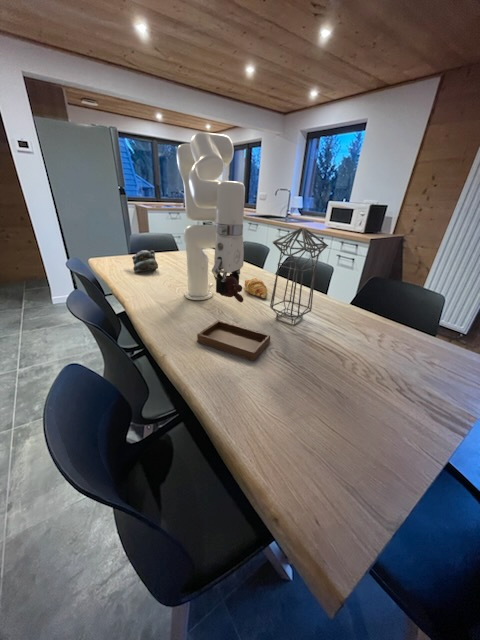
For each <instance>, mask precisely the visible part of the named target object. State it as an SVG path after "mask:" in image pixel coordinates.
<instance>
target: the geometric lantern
mask: <svg viewBox="0 0 480 640" xmlns="http://www.w3.org/2000/svg"><path fill="white" fill-rule="evenodd" d="M300 234H302V235H301V236H302V240H300V239H298V238H299V237H300ZM312 237H313V238H314V239H316V240H317V241H318V242H320V243H316V242H315V241H314V240H313V238H312ZM285 238H286V239H285ZM281 240H283V241H281ZM292 241H293V242H292ZM291 243H292V244H291ZM296 243H297V244H298V245H299V246H300V247H294V244H296ZM301 243H302V244H303V245H302V244H301ZM272 245H274V246H275V247H276V248H277V250H278V251H280V254H279V259H278V263H277V268H276V274H275V280H274V285H273V289H272V294H271V300H270V304H269V308H270V309H271V310H272V311H273V312H274V313H275V314H276V317H275V319H276V320H277V321H279V322H282V323H285V324H288V325H290V326H295V325H297V324H298V323H300V322H301V321H302V320H303V318H304V315H307V314H308V313H311V312H312V309H313V308H312V307H313V297H314V287H315V277H316V269H317V266H318V261H319V257H320V254H321V253H322V252H324V250H326V248H327V247H329V244H327V243H326V242H324V241H323V240H322V239H320V237H318V236H316V235H315V234H313V232H311V231H310V230H309V229H307V228H306V227H299V228H298V229H295V230H294V231H291V232H289V233H288V234H285V235H284V236H281V237H279V238H277V239H275V240H273V241H272ZM288 249H289V252H288ZM292 250H298V251H295V252H292ZM316 251H318V252H317V253H316ZM301 252H302V253H301ZM306 252H307V253H309V254H310V257H309V258H308V259H307V261H306V262H301V261H299V260H301V258H302V257H303V256H304V254H305V253H306ZM299 253H301V254H300V256H299V257H298V258H297V260H295V258H294V256H295V255H297V254H299ZM284 256H286V257H288V258H289V260H288V261H284V262H281V261H282V259H283V257H284ZM313 259H316V260H315V264H314V260H313ZM310 260H311V262H312V264H311V263H308V262H309V261H310ZM288 263H290V264H289V266H285V265H284V264H288ZM297 263H298V264H302V265H303V266H302V267H301V269H300V268H299V267H298V264H297ZM293 264H294V268H293V267H292V265H293ZM306 265H307V266H310V267H311V268H307V269H304V268H305V266H306ZM280 267H282V268H285V269H289V270H288V275H287V279H286V285H285V289H284V295H283V300H281V301H278V302H276V303H275V298H276V297H275V296H276V291H277V290H276V289H277V284H278V279H279V278H278V277H279V271H280ZM303 269H304V270H303ZM291 270H293V275H292V283H291V289H290V295H289V300H286V295H287V290H288V285H289V281H290V275H291ZM311 270H312V276H311V283H310V290H309V297H308V302H307V305H304V304H301V300H302V290H303V289H302V288H303V280H304V272H307V271H311ZM299 272H301V277H300V286H299V298H298V302H295V296H296V290H297V283H298V276H299ZM286 302H287V303H288V304H287V307H286ZM282 303H283V306H284V308H283V309H282V310H278V309H276V308H274V306H277V305H279V304H282ZM290 304H291V308H290ZM294 304H295V305H297V306H298V307H297V311H296V310H294ZM301 307H304V308H306V309H305V310H303V311H302V312H300V309H301ZM288 311H290V312H288ZM293 312H294V313H297V315H296V314H293ZM279 317H282V318H285V319H288V320H290V321H291V323H289V322H286V321H284V320H282V319H279ZM293 318H294V319H293ZM299 318H300V319H299ZM298 319H299V320H298ZM296 320H298V321H296Z"/></svg>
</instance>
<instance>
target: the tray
mask: <svg viewBox="0 0 480 640" xmlns="http://www.w3.org/2000/svg"><path fill="white" fill-rule="evenodd" d="M196 338H197V339H196V340H197V341H196V342H198V343H200V344H203V345H206V346H209V347H212V348H214V349H218V350H221V351H224V352H227V353H229V354H232V355H235V356H238V357H241V358H244V359H247V360H249V361H252V362H254V361H255V360H256V359H257V358H258V357H259V355H261V353H262V352H263V351H264V350H266V347H267V346H268V345H269V344H270V343H271V335H270V334H267V333H264V332H260V331H258V330H257V331H256V330H254V329H250V328H246V327H244V326H239V325H236V324H232V323H229V322H225V321H223V320H219V319H218V320H216V321H214V322H213V323H211V324H210V325H209V326H207V327H206V328H204V329H203V330H201V331H200V332H199V333H197V335H196Z"/></svg>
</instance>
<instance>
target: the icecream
mask: <svg viewBox="0 0 480 640" xmlns="http://www.w3.org/2000/svg"><path fill="white" fill-rule="evenodd" d="M225 281H226V294H220V293H218V294H219V295H220V296H222V297H227V298H233V297H234V298H235V300H236V301H237V302H239V303H242V302H244V297H243V296H242V295H241V294H240V293H241V292H242V291H243V286H242V285H241V284H240V282H239V283H238V281H237V280H236V278H235V277H233V276H232V275H230V274H229V275H228V274H227V275H226V279H225Z"/></svg>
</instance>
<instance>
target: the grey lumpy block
mask: <svg viewBox="0 0 480 640" xmlns="http://www.w3.org/2000/svg"><path fill="white" fill-rule="evenodd" d="M131 258H132V264H133V268H132V269H133V271H134V273H136V274H138V273H139V272H145V271H156V270H158V269H159V264H158V262H157V260H156V253H155V251H154V250H151V249H150V248H147V249H146V250H140V251H137V252H136V253H135V255H133V256H131Z"/></svg>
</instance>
